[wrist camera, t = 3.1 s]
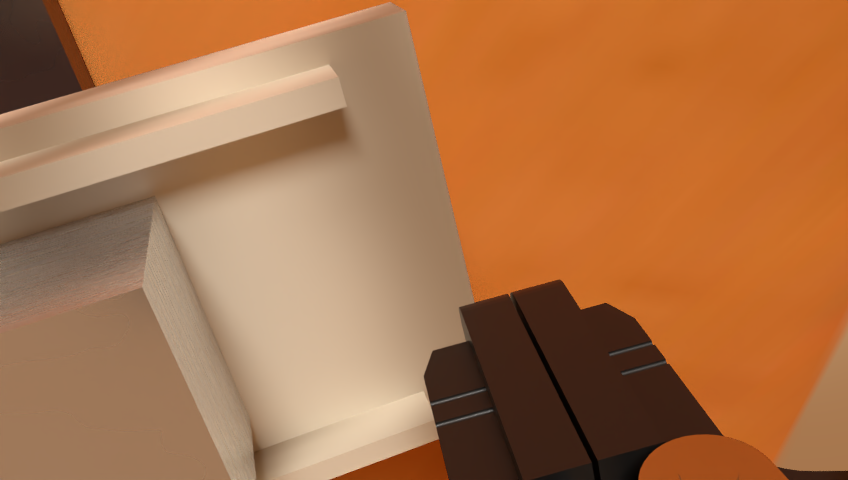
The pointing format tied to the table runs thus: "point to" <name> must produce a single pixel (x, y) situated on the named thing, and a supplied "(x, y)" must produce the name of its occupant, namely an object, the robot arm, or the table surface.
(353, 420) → the beam
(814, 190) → the table surface
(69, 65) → the stand
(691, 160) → the table surface
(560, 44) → the table surface
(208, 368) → the rider
